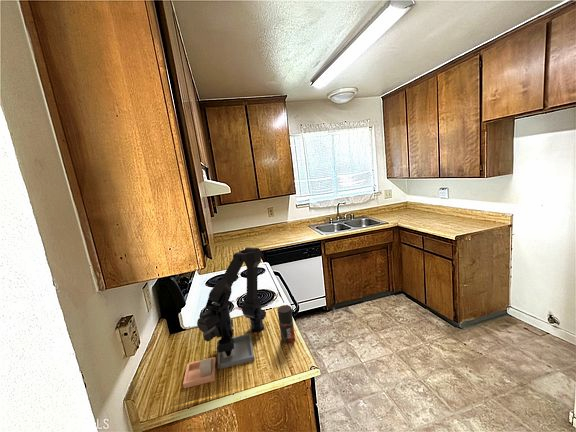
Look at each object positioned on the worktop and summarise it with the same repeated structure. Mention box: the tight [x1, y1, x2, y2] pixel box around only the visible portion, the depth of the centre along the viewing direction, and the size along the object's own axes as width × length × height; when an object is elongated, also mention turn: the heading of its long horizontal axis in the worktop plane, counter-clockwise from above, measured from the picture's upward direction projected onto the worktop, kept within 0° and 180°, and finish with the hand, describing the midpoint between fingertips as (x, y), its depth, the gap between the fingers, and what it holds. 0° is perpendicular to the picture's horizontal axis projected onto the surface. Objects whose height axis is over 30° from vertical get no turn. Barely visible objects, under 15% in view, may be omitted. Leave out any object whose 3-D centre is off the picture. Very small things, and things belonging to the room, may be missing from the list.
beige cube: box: [223, 349, 234, 358], centre depth 112 cm, size 4×4×4 cm
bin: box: [217, 332, 255, 370], centre depth 113 cm, size 16×14×2 cm
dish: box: [182, 356, 217, 389], centre depth 103 cm, size 11×11×2 cm
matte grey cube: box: [199, 357, 213, 377], centre depth 103 cm, size 4×4×4 cm
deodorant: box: [277, 304, 296, 345], centre depth 116 cm, size 6×6×15 cm
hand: (228, 352), depth 112 cm, fingers closed on beige cube, 4 cm apart
